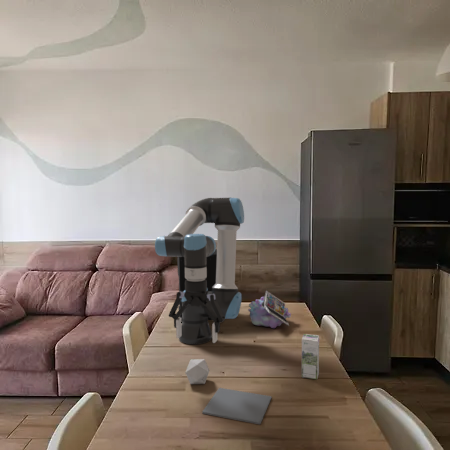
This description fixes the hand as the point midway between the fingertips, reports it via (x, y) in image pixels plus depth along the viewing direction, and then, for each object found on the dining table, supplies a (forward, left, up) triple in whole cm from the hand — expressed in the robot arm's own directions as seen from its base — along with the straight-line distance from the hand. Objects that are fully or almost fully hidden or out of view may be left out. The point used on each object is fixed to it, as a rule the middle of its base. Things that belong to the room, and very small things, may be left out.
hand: (196, 339), depth 135 cm
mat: (+18, -10, -16) cm, 26 cm away
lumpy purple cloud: (+11, +66, -16) cm, 69 cm away
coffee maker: (-25, +69, -16) cm, 75 cm away
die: (0, 0, -16) cm, 16 cm away
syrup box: (+37, +17, -16) cm, 44 cm away
